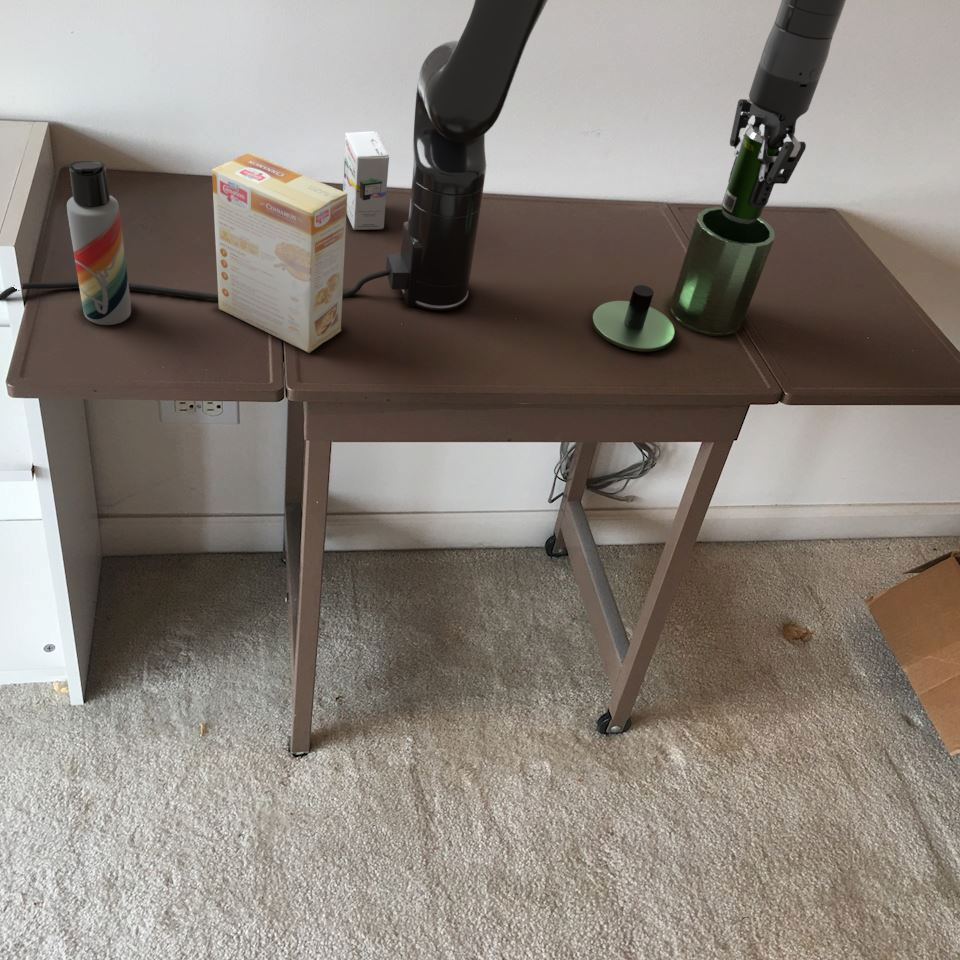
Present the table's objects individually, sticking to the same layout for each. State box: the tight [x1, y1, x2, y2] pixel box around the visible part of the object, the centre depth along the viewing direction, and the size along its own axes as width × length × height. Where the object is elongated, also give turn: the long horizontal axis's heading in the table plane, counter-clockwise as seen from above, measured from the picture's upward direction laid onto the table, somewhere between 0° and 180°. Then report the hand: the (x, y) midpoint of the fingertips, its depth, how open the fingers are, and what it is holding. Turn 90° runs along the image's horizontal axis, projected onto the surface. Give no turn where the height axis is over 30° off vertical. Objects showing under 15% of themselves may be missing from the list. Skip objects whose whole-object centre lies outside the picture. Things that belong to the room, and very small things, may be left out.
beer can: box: [721, 124, 780, 224], centre depth 128 cm, size 5×5×12 cm
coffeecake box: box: [211, 152, 347, 354], centre depth 120 cm, size 15×7×20 cm, turn 59°
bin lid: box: [591, 284, 675, 353], centre depth 135 cm, size 12×12×7 cm
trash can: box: [669, 206, 776, 337], centre depth 138 cm, size 11×11×14 cm
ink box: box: [342, 130, 390, 231], centre depth 146 cm, size 8×5×12 cm, turn 18°
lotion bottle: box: [66, 160, 132, 326], centre depth 116 cm, size 6×6×20 cm
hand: (746, 195), depth 130 cm, fingers closed on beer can, 5 cm apart
